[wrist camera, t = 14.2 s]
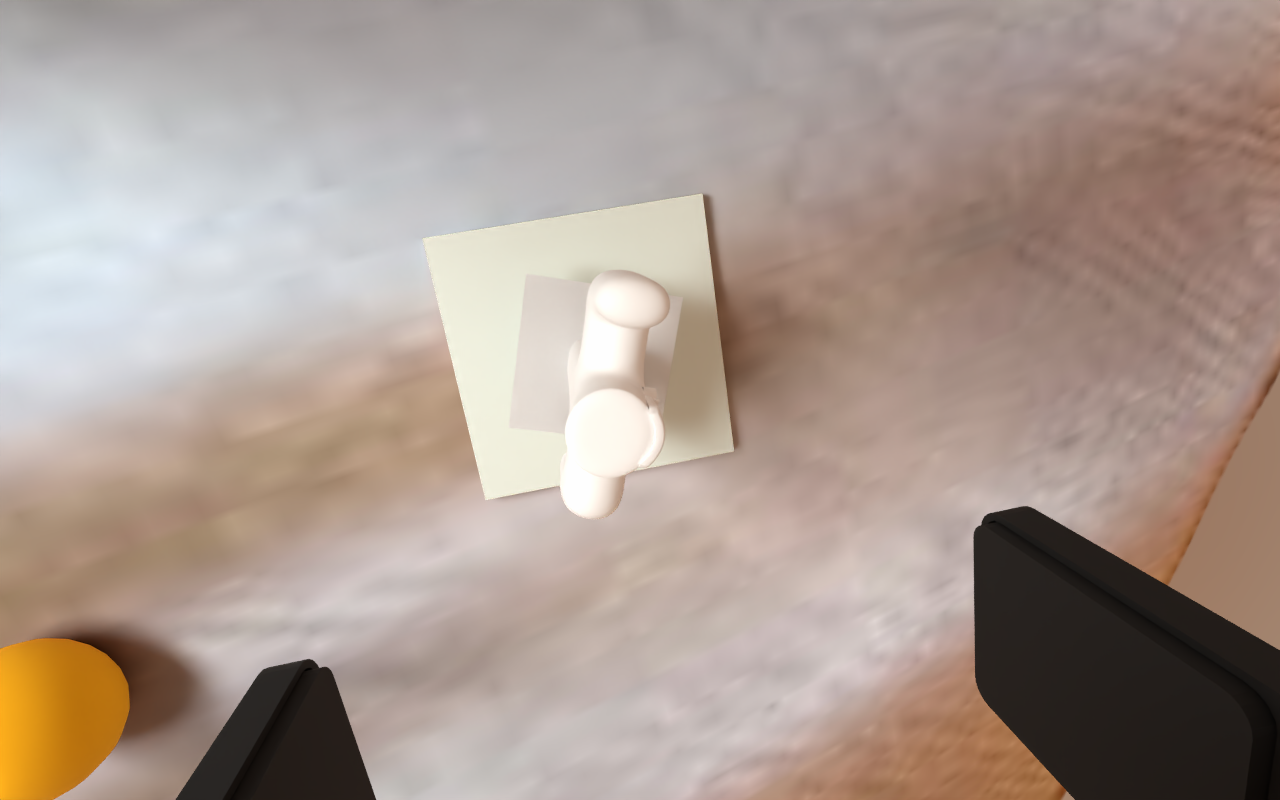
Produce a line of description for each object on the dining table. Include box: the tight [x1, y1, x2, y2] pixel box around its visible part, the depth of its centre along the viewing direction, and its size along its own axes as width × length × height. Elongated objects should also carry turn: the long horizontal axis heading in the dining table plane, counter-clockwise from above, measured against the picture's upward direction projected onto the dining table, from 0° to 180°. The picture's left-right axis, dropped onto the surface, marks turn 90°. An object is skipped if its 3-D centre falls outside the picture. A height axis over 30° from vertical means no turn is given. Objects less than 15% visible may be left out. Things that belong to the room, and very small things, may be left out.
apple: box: [0, 638, 130, 800], centre depth 31 cm, size 8×8×8 cm
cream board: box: [422, 194, 734, 500], centre depth 34 cm, size 14×14×1 cm
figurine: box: [509, 270, 683, 519], centre depth 26 cm, size 7×9×15 cm
